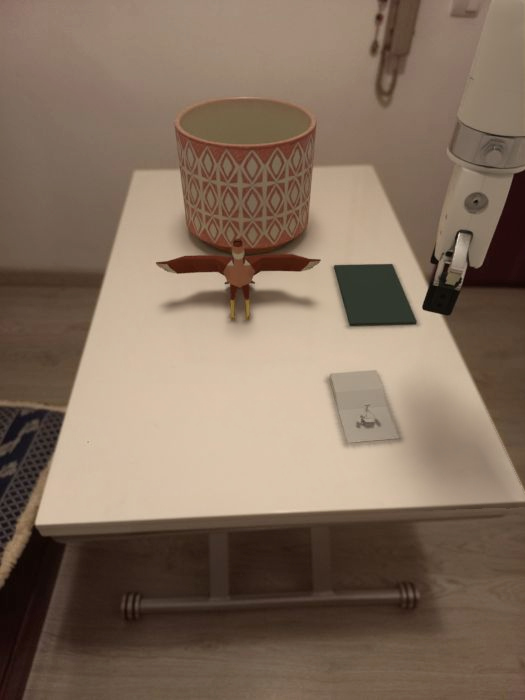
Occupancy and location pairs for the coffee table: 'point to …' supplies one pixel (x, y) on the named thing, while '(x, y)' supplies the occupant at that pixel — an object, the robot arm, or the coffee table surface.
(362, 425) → the white pop-up card
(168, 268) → the decorative bird
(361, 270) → the felt mat
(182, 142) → the planter
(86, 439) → the coffee table surface
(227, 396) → the coffee table surface
